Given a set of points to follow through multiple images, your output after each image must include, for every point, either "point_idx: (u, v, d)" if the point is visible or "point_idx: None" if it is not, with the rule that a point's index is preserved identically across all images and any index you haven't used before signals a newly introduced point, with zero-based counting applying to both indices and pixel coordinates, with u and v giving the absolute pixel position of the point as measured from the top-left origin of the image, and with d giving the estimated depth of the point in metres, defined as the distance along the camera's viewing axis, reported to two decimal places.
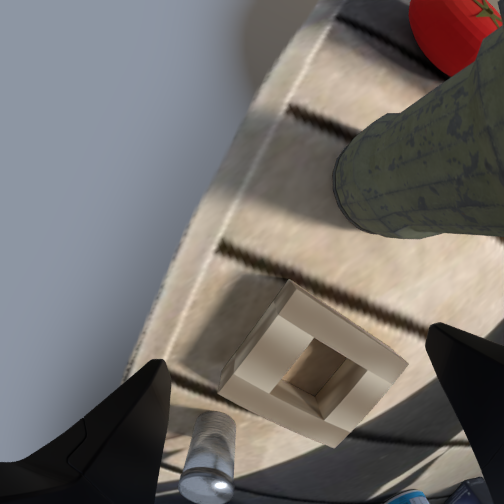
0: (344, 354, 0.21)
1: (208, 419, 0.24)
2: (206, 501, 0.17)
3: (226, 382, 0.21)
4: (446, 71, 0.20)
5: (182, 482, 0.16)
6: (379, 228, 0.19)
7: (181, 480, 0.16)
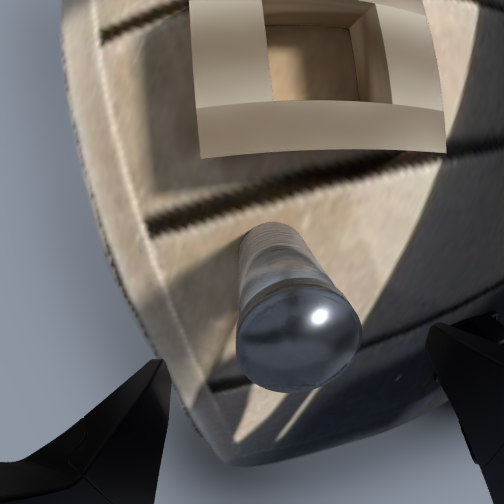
0: None
1: (246, 242, 0.16)
2: (322, 372, 0.10)
3: (198, 131, 0.12)
4: None
5: (243, 358, 0.09)
6: None
7: (237, 354, 0.09)
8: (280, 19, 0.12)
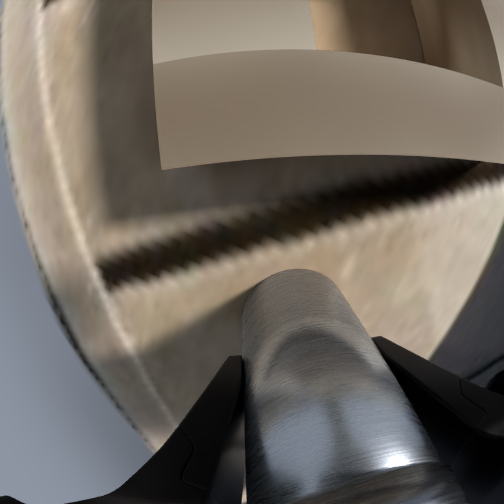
0: None
1: (255, 308, 0.09)
2: None
3: (157, 111, 0.05)
4: None
5: None
6: None
7: None
8: None
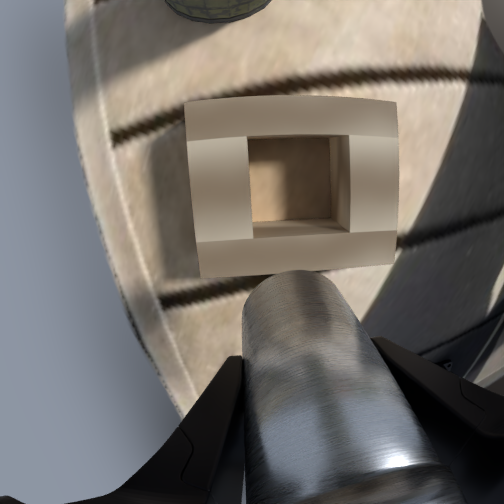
0: (301, 132, 0.15)
1: (255, 309, 0.09)
2: None
3: (198, 258, 0.17)
4: None
5: None
6: None
7: None
8: (267, 138, 0.18)
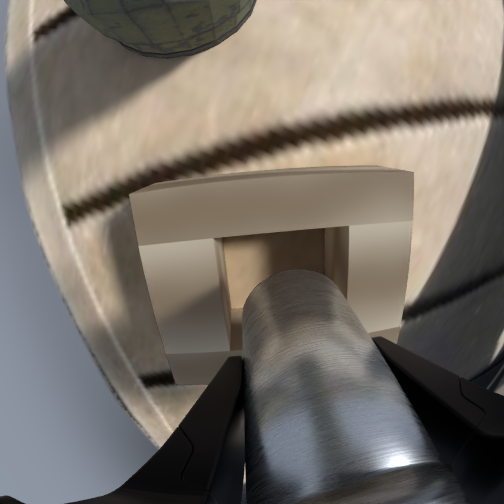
0: (285, 228, 0.12)
1: (255, 308, 0.09)
2: None
3: (171, 367, 0.14)
4: None
5: None
6: (164, 22, 0.08)
7: None
8: None
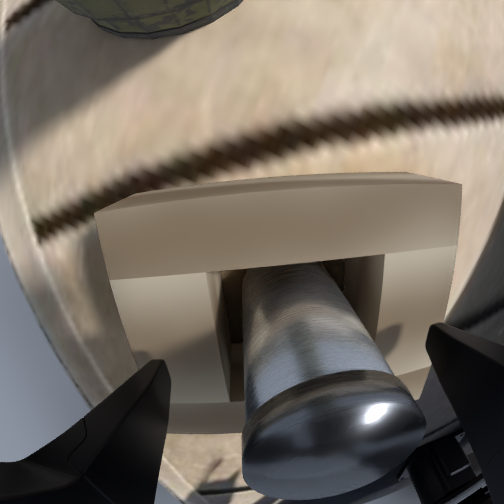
0: (303, 259, 0.09)
1: (253, 276, 0.12)
2: (361, 479, 0.05)
3: None
4: None
5: (253, 478, 0.05)
6: None
7: (245, 474, 0.05)
8: None
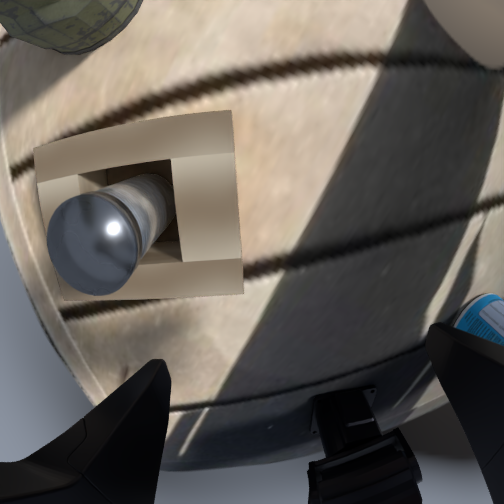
0: (122, 163, 0.14)
1: None
2: (109, 276, 0.11)
3: (59, 283, 0.16)
4: None
5: (52, 254, 0.10)
6: (54, 34, 0.10)
7: (50, 251, 0.10)
8: None
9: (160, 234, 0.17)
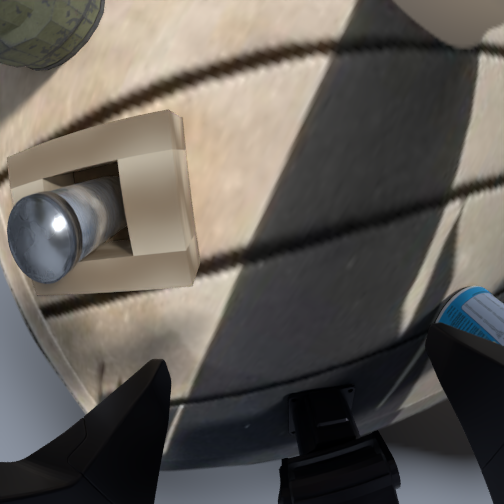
0: (78, 167, 0.15)
1: None
2: (54, 265, 0.11)
3: None
4: None
5: (12, 248, 0.11)
6: (20, 54, 0.11)
7: (10, 245, 0.11)
8: (82, 169, 0.18)
9: (115, 231, 0.17)
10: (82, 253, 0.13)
